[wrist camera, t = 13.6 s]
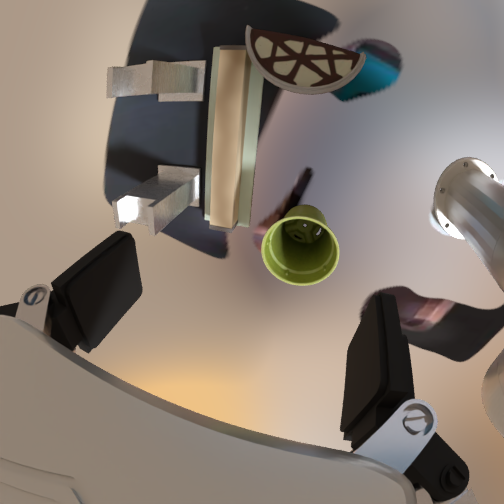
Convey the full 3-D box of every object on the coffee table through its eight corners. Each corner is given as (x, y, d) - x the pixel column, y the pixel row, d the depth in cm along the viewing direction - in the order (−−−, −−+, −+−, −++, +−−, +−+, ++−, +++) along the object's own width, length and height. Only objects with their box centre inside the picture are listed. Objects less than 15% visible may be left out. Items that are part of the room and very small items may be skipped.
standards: (207, 60, 31) (158, 48, 20) (200, 205, 42) (159, 245, 32) (162, 63, 32) (105, 58, 21) (161, 199, 43) (114, 235, 33)
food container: (251, 84, 32) (228, 78, 23) (261, 43, 28) (241, 24, 20) (344, 108, 31) (354, 110, 22) (356, 66, 27) (369, 54, 19)
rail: (253, 50, 29) (246, 45, 26) (237, 223, 42) (231, 232, 39) (228, 49, 29) (220, 45, 26) (216, 219, 42) (209, 228, 40)
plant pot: (263, 235, 43) (249, 266, 35) (288, 181, 38) (279, 203, 30) (318, 260, 43) (316, 296, 35) (348, 210, 38) (354, 239, 30)
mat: (266, 48, 29) (266, 48, 28) (249, 225, 42) (248, 227, 42) (215, 47, 30) (213, 47, 29) (206, 218, 43) (204, 219, 43)
